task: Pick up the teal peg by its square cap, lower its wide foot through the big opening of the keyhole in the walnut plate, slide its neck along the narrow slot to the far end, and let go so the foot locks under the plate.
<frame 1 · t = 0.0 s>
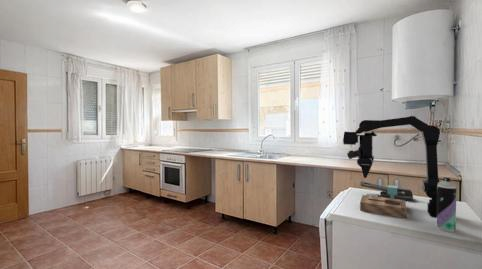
hand: (365, 175, 116), 15 cm above the countertop, tool pointing down, fingers open, 9 cm apart
spray can: (445, 229, 89), on the countertop
keyhole plate: (382, 209, 110), on the countertop
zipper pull: (385, 197, 129), on the countertop
teal peg: (392, 204, 117), on the countertop
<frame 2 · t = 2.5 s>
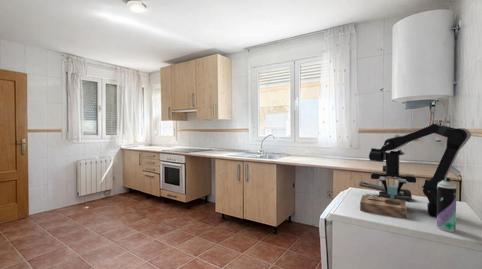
hand: (392, 193, 117), 5 cm above the countertop, tool pointing down, fingers closed on teal peg, 4 cm apart
teal peg: (392, 204, 117), on the countertop, touching gripper
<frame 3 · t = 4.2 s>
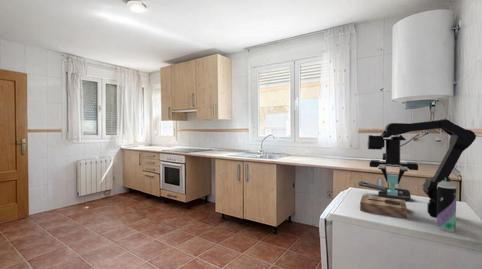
hand: (392, 182, 108), 13 cm above the countertop, tool pointing down, fingers closed on teal peg, 4 cm apart
teal peg: (392, 194, 109), point 8 cm above the countertop, touching gripper
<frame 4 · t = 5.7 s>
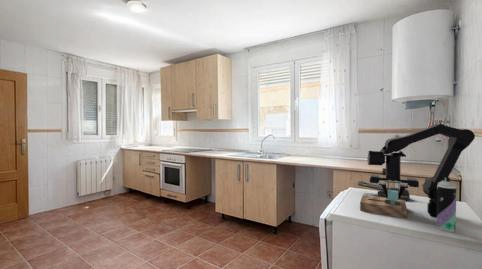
hand: (392, 199, 108), 6 cm above the countertop, tool pointing down, fingers closed on teal peg, 4 cm apart
teal peg: (392, 210, 108), on the countertop, touching gripper
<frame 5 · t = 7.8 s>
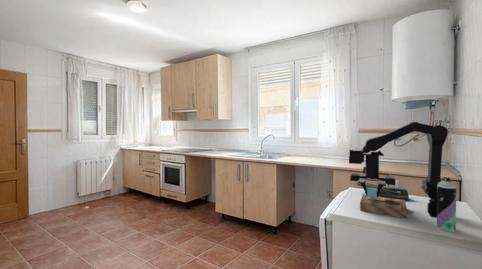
hand: (372, 196, 112), 6 cm above the countertop, tool pointing down, fingers closed on teal peg, 4 cm apart
teal peg: (371, 207, 113), on the countertop, touching gripper
when the fingers open (6 cm above the countertop, at t = 8.8 s): teal peg stays where it is, on the countertop.
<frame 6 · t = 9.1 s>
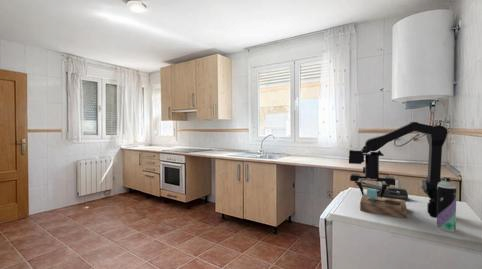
hand: (371, 196, 112), 6 cm above the countertop, tool pointing down, fingers open, 7 cm apart
teal peg: (371, 207, 113), on the countertop
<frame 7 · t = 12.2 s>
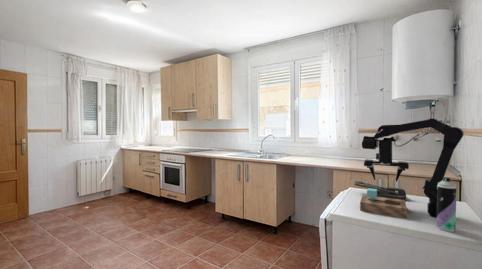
hand: (385, 180, 116), 12 cm above the countertop, tool pointing down, fingers open, 9 cm apart
at the end: teal peg 0.2 cm from the target spot on the keyhole plate, point 0.0 cm above the keyhole plate's base; the gripper is holding nothing; teal peg tilted 0° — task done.
